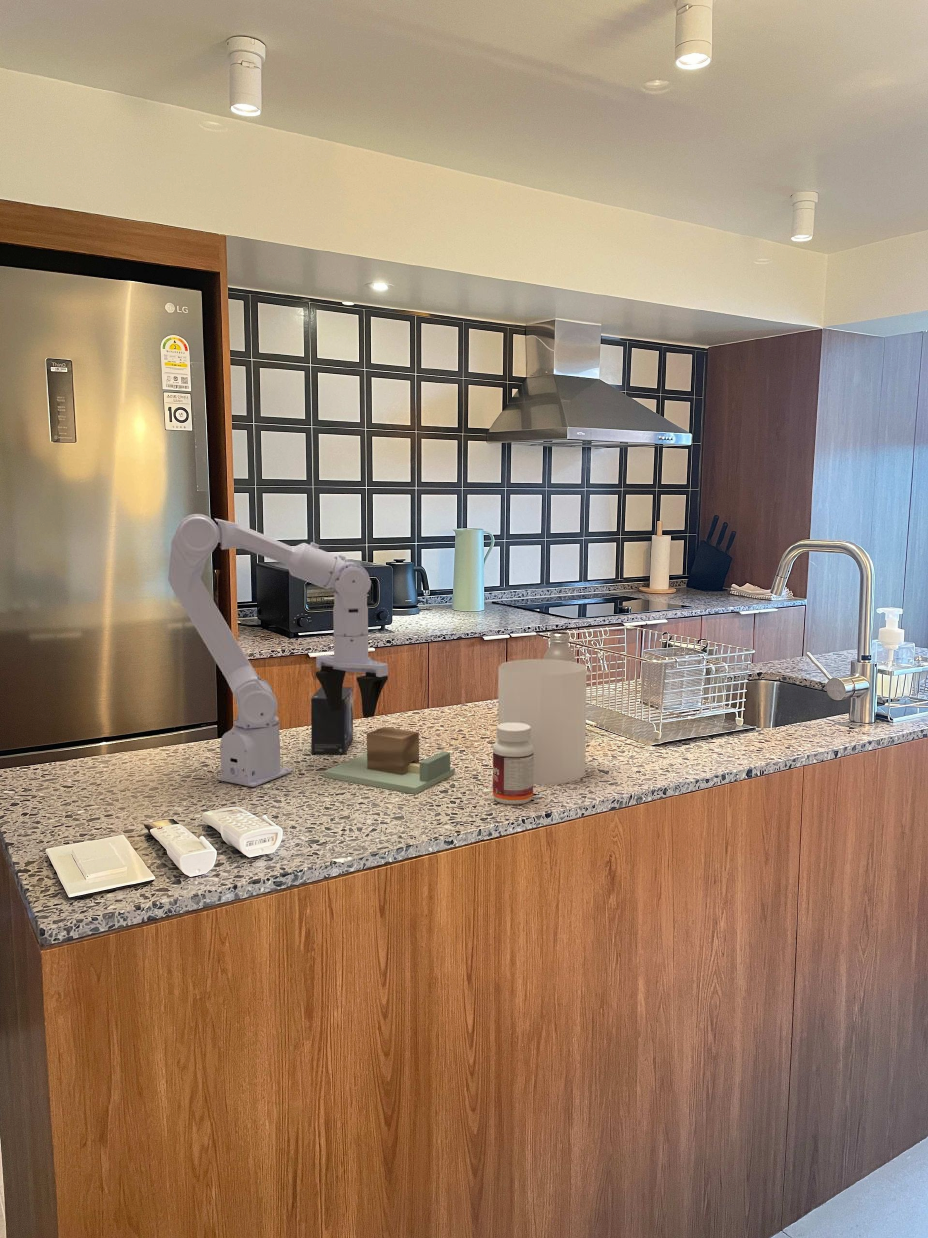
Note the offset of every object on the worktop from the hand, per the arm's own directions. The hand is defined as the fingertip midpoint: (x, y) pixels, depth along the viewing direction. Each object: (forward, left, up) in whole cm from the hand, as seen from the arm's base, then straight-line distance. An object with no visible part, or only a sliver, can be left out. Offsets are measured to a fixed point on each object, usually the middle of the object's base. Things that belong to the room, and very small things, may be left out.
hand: (351, 713), depth 149 cm
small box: (+9, +11, -10) cm, 17 cm away
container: (+14, -29, -10) cm, 34 cm away
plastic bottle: (+37, -22, -10) cm, 44 cm away
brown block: (0, -8, -8) cm, 12 cm away
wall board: (-1, -8, -9) cm, 12 cm away
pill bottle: (-1, -31, -10) cm, 33 cm away
